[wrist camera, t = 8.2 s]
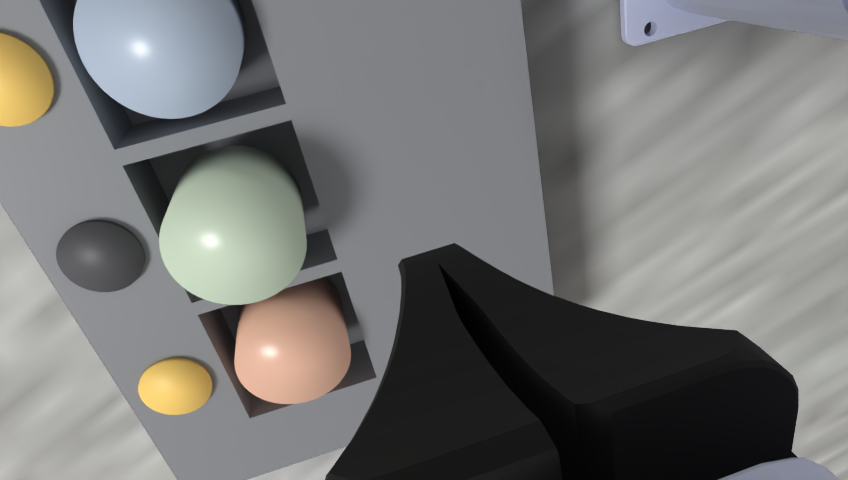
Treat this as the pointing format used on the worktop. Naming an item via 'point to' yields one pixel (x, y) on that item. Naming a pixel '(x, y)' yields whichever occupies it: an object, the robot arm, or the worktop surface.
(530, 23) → the worktop surface
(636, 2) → the robot arm
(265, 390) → the button terracotta
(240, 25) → the button slate
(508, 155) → the console
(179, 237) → the button sage
